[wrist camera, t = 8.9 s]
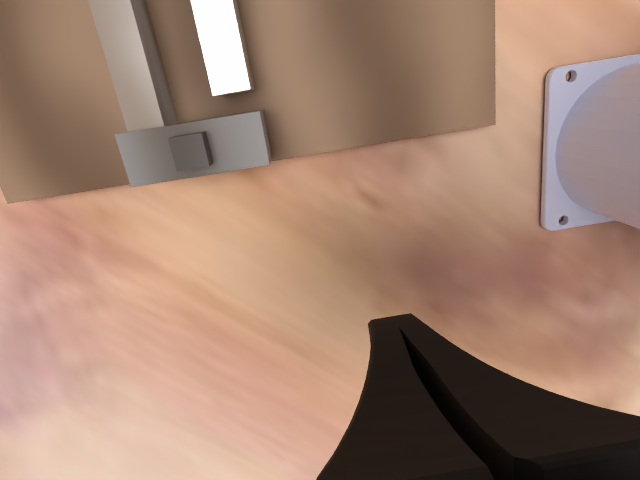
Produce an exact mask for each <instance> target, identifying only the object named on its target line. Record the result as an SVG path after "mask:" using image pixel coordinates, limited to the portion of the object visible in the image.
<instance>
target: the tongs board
mask: <svg viewBox="0 0 640 480" xmlns="http://www.w3.org/2000/svg"><path fill="white" fill-rule="evenodd" d="M237 3H238V8H239V13H240V18H241V23H242V28H243V33H244V38H245V43H246V48H247V53H248V58H249V63H250V68H251V73H252V78H253V83H254V88H255V90H254V91H248V92H242V93H236V94H230V95H224V96H214V95H213V93H212V89H211V85H210V81H209V76H208V72H207V68H206V63H205V59H204V55H203V51H202V46H201V42H200V38H199V34H198V29H197V25H196V21H195V17H194V12H193V8H192V4H191V0H0V187H1V189H2V192H3V194H4V196H5V199H6V201H7V203H8V204H10V203H16V202H22V201H28V200H34V199H40V198H47V197H53V196H59V195H65V194H71V193H77V192H84V191H90V190H96V189H102V188H108V187H114V186H121V185H127V184H130V186H131V187H136V186H142V185H148V184H154V183H160V182H167V181H173V180H179V179H185V178H191V177H197V176H204V175H210V174H216V173H222V172H228V171H234V170H241V169H247V168H253V167H259V166H265V165H270V162H271V161H275V160H281V159H287V158H293V157H300V156H306V155H312V154H318V153H324V152H330V151H337V150H343V149H349V148H355V147H361V146H367V145H374V144H380V143H386V142H392V141H398V140H404V139H411V138H417V137H423V136H429V135H435V134H441V133H448V132H454V131H460V130H466V129H472V128H478V127H485V126H491V125H495V0H237Z"/></svg>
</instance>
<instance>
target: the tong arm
mask: <svg viewBox="0 0 640 480" xmlns="http://www.w3.org/2000/svg"><path fill="white" fill-rule="evenodd" d="M191 4H192V8H193V12H194V17H195V21H196V25H197V29H198V34H199V38H200V42H201V46H202V51H203V55H204V59H205V63H206V68H207V72H208V76H209V81H210V85H211V89H212V93H213V95H214V96H224V95H230V94H236V93H242V92H248V91H254V90H255V88H254V83H253V78H252V73H251V68H250V63H249V58H248V53H247V48H246V43H245V38H244V33H243V28H242V23H241V18H240V13H239V8H238V3H237V0H191Z"/></svg>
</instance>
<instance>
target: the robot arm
mask: <svg viewBox="0 0 640 480" xmlns="http://www.w3.org/2000/svg"><path fill="white" fill-rule="evenodd" d="M568 72H570V73H571V79H570V80H569V81H567V80H566V74H567V73H568ZM562 216H563V217H564V218H563V221H562V222H560V223H559V222H558V221H559V219H560V217H562ZM610 221H619V222H622V223H624V224H627V225H630V226H632V227H635V228H638V229H640V54H634V55H627V56H621V57H615V58H609V59H603V60H596V61H590V62H584V63H578V64H571V65H565V66H559V67H555V68H552V69H551V70H550V71H549V72H548V74H547V76H546V82H545V111H544V140H543V169H542V198H541V225H542V227H543V228H545V229H547V230H549V231H556V230H562V229H568V228H574V227H580V226H586V225H592V224H598V223H604V222H610ZM368 327H369V334H370V342H371V350H370V360H369V365H368V370H367V375H366V380H365V383H364V387H363V391H362V394H361V397H360V400H359V403H358V405H357V408H356V410H355V413H354V415H353V418H352V420H351V422H350V424H349V426H348V428H347V430H346V432H345V434H344V436H343V438H342V440H341V441H340V443H339V445H338V447H337V449H336V450H335V452H334V454H333V455H332V457H331V458H330V460H329V461H328V462H327V464H326V465H325V467H324V468H323V470H322V471H321V473H320V474H319V475H318V477H317V479H316V480H640V416H635V415H631V414H627V413H623V412H618V411H614V410H610V409H606V408H602V407H598V406H594V405H591V404H587V403H584V402H581V401H577V400H574V399H571V398H567V397H564V396H561V395H558V394H556V393H553V392H550V391H547V390H544V389H542V388H539V387H537V386H534V385H532V384H529V383H526V382H524V381H522V380H519V379H517V378H515V377H512V376H510V375H508V374H506V373H504V372H502V371H500V370H498V369H496V368H494V367H492V366H490V365H488V364H486V363H484V362H482V361H480V360H479V359H477V358H475V357H474V356H472V355H470V354H469V353H467V352H465V351H463V350H462V349H460V348H459V347H457V346H456V345H454V344H453V343H451V342H450V341H448V340H447V339H445V338H444V337H442V336H441V335H439V334H438V333H437V332H435V331H434V330H433V329H431V328H430V327H429V326H427V325H426V324H425V323H423V322H422V321H421V320H419V319H418V318H417V317H415V316H414V315H412V314H411V313H410V314H404V315H398V316H392V317H386V318H380V319H374V320H371V321H370V322H369V323H368Z"/></svg>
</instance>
